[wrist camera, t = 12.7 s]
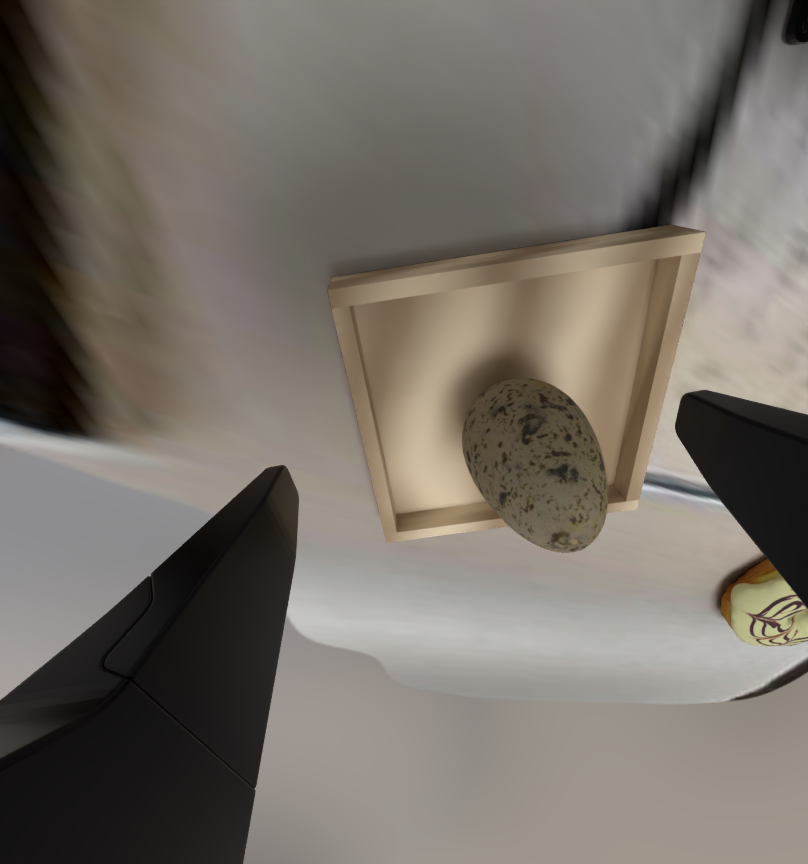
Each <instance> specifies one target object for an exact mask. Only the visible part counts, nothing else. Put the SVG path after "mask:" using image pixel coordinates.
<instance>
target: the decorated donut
mask: <svg viewBox="0 0 808 864" xmlns="http://www.w3.org/2000/svg"><path fill="white" fill-rule="evenodd" d="M720 608H721V613H722V615H723V617H724V618H725V619H726V621H727V622H728V624H729V625H730V627H731V628H732V629H733V630H734V632H735V634H736V636H737V637H738V638H739V639H740V640H742V641H743V642H746V643H748V644H752V645H756V646H779V645H796V644H799V643H803V642H806V641H808V609H807V607H806V606H805V605H804V604H803V602H802V601H801V600H800V599H799V597H798V596H797V595H796V594H795V592H794V591H793V590H792V589H791V587H790V586H789V585H788V584H787V582H786V581H785V580H784V579H783V577H782V576H781V575H780V574H779V573H778V571H777V570H776V569H775V568H774V566H773V565H772V564H771V563H770V561H769V560H768V559H767V558H766V559H765V560H763V561H762V562H760V563H759V564H758V565H757V566H755V567H752V568H750V569H749V570H748V571H747V572H746V574H745V575H742V576H741V577H739V578H738V579H737V581H736V582H735V583H731V584H730V585H728V586H727V588H726V592H725V593H724V594H723V596H722V598H721V607H720Z"/></svg>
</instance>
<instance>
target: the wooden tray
mask: <svg viewBox="0 0 808 864" xmlns="http://www.w3.org/2000/svg"><path fill="white" fill-rule="evenodd" d="M705 233H706V232H704V231H699V230H694V229H690V228H685V227H680V226H675V225H666V226H660V227H653V228H647V229H640V230H634V231H627V232H621V233H615V234H608V235H602V236H595V237H589V238H582V239H576V240H569V241H563V242H557V243H550V244H544V245H537V246H531V247H524V248H518V249H511V250H505V251H499V252H492V253H486V254H479V255H473V256H466V257H460V258H453V259H447V260H441V261H434V262H428V263H421V264H415V265H408V266H402V267H395V268H389V269H382V270H376V271H370V272H363V273H357V274H350V275H344V276H337V277H332V279H331V282H330V284H329V287H328V289H327V292H328V297H329V301H330V305H331V309H332V314H333V318H334V322H335V326H336V331H337V335H338V339H339V343H340V348H341V352H342V356H343V360H344V365H345V369H346V373H347V377H348V382H349V386H350V390H351V395H352V399H353V403H354V407H355V412H356V416H357V420H358V424H359V429H360V433H361V437H362V441H363V446H364V450H365V454H366V458H367V463H368V467H369V471H370V475H371V480H372V484H373V488H374V492H375V497H376V501H377V505H378V510H379V514H380V518H381V522H382V527H383V531H384V535H385V539H386V543H388V542H396V541H403V540H411V539H418V538H425V537H433V536H440V535H448V534H455V533H463V532H470V531H477V530H485V529H492V528H500V527H507V526H508V525H507V524H506V523H505V522H504V521H503V520H502V519H501V518H500V516H499V515H498V514H497V513H496V512H495V511H494V510H493V509H492V507H491V506H490V505H489V504H488V503H487V501H486V500H485V499H484V497H483V496H482V494H481V493H480V491H479V490H478V488H477V486H476V485H475V483H474V481H473V479H472V477H471V475H470V473H469V470H468V468H467V465H466V462H465V458H464V454H463V448H462V431H463V425H464V421H465V418H466V415H467V413H468V411H469V409H470V407H471V406H472V404H473V403H474V401H475V400H476V399H477V398H478V396H480V395H481V394H482V393H483V392H484V391H485V390H487V389H488V388H489V387H491V386H493V385H495V384H497V383H499V382H502V381H505V380H509V379H515V378H530V379H536V380H541V381H544V382H546V383H549V384H551V385H553V386H555V387H557V388H558V389H560V390H561V391H563V392H564V393H566V394H567V395H568V396H569V397H570V398H571V399H572V400H573V401H574V402H575V403H576V404H577V405H578V406H579V408H580V409H581V410H582V411H583V413H584V414H585V416H586V417H587V419H588V421H589V423H590V424H591V426H592V428H593V430H594V432H595V435H596V437H597V440H598V442H599V445H600V448H601V452H602V455H603V459H604V463H605V468H606V474H607V482H608V508H607V513H611V512H619V511H626V510H634V509H637V506H638V502H639V498H640V494H641V490H642V486H643V482H644V478H645V474H646V470H647V466H648V462H649V458H650V454H651V450H652V446H653V442H654V438H655V434H656V430H657V426H658V422H659V418H660V414H661V410H662V406H663V402H664V398H665V394H666V390H667V386H668V382H669V378H670V374H671V370H672V366H673V362H674V358H675V354H676V350H677V346H678V342H679V338H680V334H681V330H682V326H683V322H684V318H685V314H686V310H687V306H688V302H689V298H690V294H691V290H692V286H693V282H694V278H695V274H696V270H697V266H698V262H699V258H700V253H701V249H702V245H703V241H704V237H705Z"/></svg>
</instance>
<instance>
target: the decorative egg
mask: <svg viewBox="0 0 808 864" xmlns="http://www.w3.org/2000/svg"><path fill="white" fill-rule="evenodd" d="M462 448H463V454H464V458H465V462H466V465H467V468H468V470H469V473H470V475H471V477H472V479H473V481H474V483H475V485H476V486H477V488H478V490H479V491H480V493H481V494H482V496H483V497H484V499H485V500H486V501H487V503H488V504H489V505H490V506H491V507H492V509H493V510H494V511H495V512H496V513H497V514H498V515H499V516H500V518H501V519H502V520H503V521H504V522H505V523H506V524H507V525H508V526H509V527H511V528H512V529H513V530H514V531H515V532H517V533H518V534H519V535H521V536H522V537H523V538H525V539H527V540H528V541H530V542H532V543H534V544H535V545H537V546H540V547H542V548H544V549H547V550H551V551H555V552H561V553H569V552H575V551H579V550H582V549H584V548H585V547H587V546H588V545H590V544H591V543H592V542H593V541H594V540H595V539H596V537H597V536H598V535H599V533H600V531H601V529H602V527H603V525H604V521H605V518H606V513H607V508H608V482H607V474H606V468H605V463H604V459H603V455H602V452H601V448H600V445H599V442H598V440H597V437H596V435H595V432H594V430H593V428H592V426H591V424H590V423H589V421H588V419H587V417H586V416H585V414H584V413H583V411H582V410H581V409H580V408H579V406H578V405H577V404H576V403H575V402H574V401H573V400H572V399H571V398H570V397H569V396H568V395H567V394H566V393H564V392H563V391H561V390H560V389H558V388H557V387H555V386H553V385H551V384H549V383H546V382H544V381H541V380H536V379H530V378H515V379H509V380H505V381H502V382H499V383H497V384H495V385H493V386H491V387H489V388H488V389H487V390H485V391H484V392H483V393H482V394H481V395H480V396H478V398H477V399H476V400H475V401H474V403H473V404H472V406H471V407H470V409H469V411H468V413H467V415H466V418H465V421H464V425H463V431H462Z"/></svg>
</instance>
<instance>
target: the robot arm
mask: <svg viewBox="0 0 808 864" xmlns="http://www.w3.org/2000/svg"><path fill="white" fill-rule="evenodd" d="M805 19H807V21H808V0H795V1H794V4H793V8H792V12H791V15H790V19H789V22H788V26H787V30H786V40H787V42H788V43H789V44H790V45H799V44H805V43H808V24H807V27H806V30H805V31H804V32H803V31H802V25H803V23H804V21H805ZM675 430H676V433H677V436H678V437H679V439H680V441H681V442H682V444H683V445H684V447H685V448H686V450H687V452H688V453H689V455H690V456H691V458H692V459H693V461H694V463H695V464H696V466H697V467H698V469H699V470H700V472H701V474H702V475H703V477H704V478H705V480H706V481H707V483H708V484H709V486H710V487H711V489H712V490H713V491H714V493H715V494H716V495H717V497H718V498H719V499H720V500H721V502H722V503H723V504H724V505H725V507H726V508H727V509H728V510H729V512H730V513H731V514H732V515H733V517H734V518H735V519H736V520H737V522H738V523H739V524H740V525H741V527H742V528H743V529H744V530H745V532H746V533H747V534H748V535H749V536H750V538H751V539H752V540H753V541H754V543H755V544H756V545H757V546H758V548H759V549H760V550H761V551H762V553H763V554H764V555H765V556H766V558H767V559H768V560H769V561H770V563H771V564H772V565H773V566H774V568H775V569H776V570H777V571H778V573H779V574H780V575H781V576H782V577H783V579H784V580H785V581H786V582H787V584H788V585H789V586H790V587H791V589H792V590H793V591H794V592H795V594H796V595H797V596H798V597H799V599H800V600H801V601H802V602H803V604H804V605H805V606H806V607H807V609H808V415H807V414H803V413H798V412H794V411H790V410H786V409H782V408H778V407H774V406H770V405H766V404H762V403H758V402H753V401H749V400H745V399H741V398H737V397H733V396H729V395H725V394H721V393H717V392H712V391H708V390H700V391H695V392H689V393H686V394H684V395H683V396H682V398H681V401H680V405H679V410H678V414H677V419H676V423H675ZM298 509H299V496H298V491H297V489H296V487H295V484H294V482H293V480H292V478H291V475H290V473H289V471H288V469H287V468H286V466H284V465H280V466H274V467H269V468H266V469H265V470H264V471H263V472H262V473H261V474H260V475H259V476H258V477H256V478H255V479H254V480H253V481H252V482H251V483H250V484H249V485H248V486H247V487H245V488H244V489H243V490H242V491H241V492H240V493H239V494H238V495H237V496H236V497H234V498H233V499H232V500H231V501H230V502H229V503H228V504H227V505H226V506H225V507H224V508H222V509H221V510H220V511H219V512H218V513H217V514H216V515H215V516H214V517H213V518H211V519H210V520H209V521H208V522H207V523H206V524H205V525H204V526H203V527H202V528H201V529H200V530H198V531H197V532H196V533H195V534H194V535H193V536H192V537H191V538H190V539H188V540H187V541H186V542H185V543H184V544H183V545H182V546H181V547H180V548H179V549H177V550H176V551H175V552H174V553H173V554H172V555H171V556H170V557H169V558H168V559H166V560H165V561H164V562H163V563H162V564H161V565H160V566H159V567H158V568H157V569H155V570H154V571H153V572H152V573H151V577H150V576H148V577H147V578H145V579H144V581H142V582H141V583H140V584H139V585H138V586H137V587H136V588H135V589H133V590H132V591H131V592H130V593H129V594H128V595H127V596H126V597H125V598H123V599H122V600H121V601H120V602H119V603H118V604H117V605H115V606H114V607H113V608H112V609H111V610H110V611H109V612H108V613H106V614H105V615H104V616H103V617H102V618H100V619H99V620H98V621H97V622H96V623H95V624H93V625H92V626H91V627H89V628H88V629H87V630H86V631H85V632H84V633H82V634H81V635H80V636H79V637H77V638H76V639H75V640H74V641H72V642H71V643H70V644H69V645H68V646H66V647H65V648H64V649H63V650H61V651H60V652H59V653H58V654H57V655H55V656H54V657H53V658H52V659H51V660H49V661H48V662H47V663H46V664H44V665H43V666H42V667H41V668H39V669H38V670H37V671H36V672H34V673H33V674H32V675H31V676H30V677H28V678H27V679H26V680H25V681H23V682H22V683H21V684H20V685H18V686H17V687H16V688H15V689H14V690H12V691H11V692H10V693H9V694H8V695H6V696H5V697H4V698H2V699H1V700H0V864H243V860H244V855H245V849H246V843H247V837H248V831H249V826H250V820H251V814H252V809H253V803H254V797H255V789H254V788H255V787H256V784H257V779H258V773H259V767H260V761H261V755H262V750H263V744H264V738H265V733H266V727H267V721H268V716H269V710H270V703H271V698H272V692H273V687H274V681H275V675H276V669H277V664H278V658H279V652H280V647H281V641H282V635H283V630H284V624H285V618H286V612H287V607H288V601H289V595H290V589H291V584H292V578H293V572H294V566H295V559H296V548H297V529H298Z"/></svg>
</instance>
